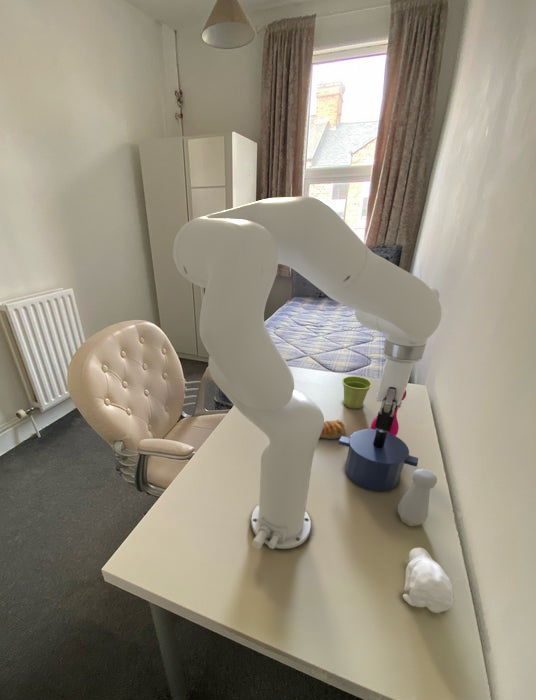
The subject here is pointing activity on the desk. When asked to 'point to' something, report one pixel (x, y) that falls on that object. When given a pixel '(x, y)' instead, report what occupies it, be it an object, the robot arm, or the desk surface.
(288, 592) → the desk surface
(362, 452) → the lid
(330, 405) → the desk surface
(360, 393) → the plant pot
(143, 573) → the desk surface
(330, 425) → the pastry
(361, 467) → the pot
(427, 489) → the salt shaker
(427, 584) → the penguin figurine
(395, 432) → the pepper mill
